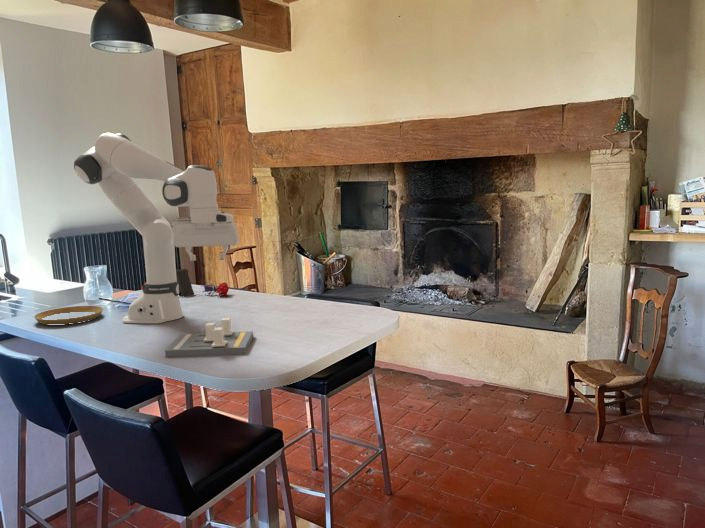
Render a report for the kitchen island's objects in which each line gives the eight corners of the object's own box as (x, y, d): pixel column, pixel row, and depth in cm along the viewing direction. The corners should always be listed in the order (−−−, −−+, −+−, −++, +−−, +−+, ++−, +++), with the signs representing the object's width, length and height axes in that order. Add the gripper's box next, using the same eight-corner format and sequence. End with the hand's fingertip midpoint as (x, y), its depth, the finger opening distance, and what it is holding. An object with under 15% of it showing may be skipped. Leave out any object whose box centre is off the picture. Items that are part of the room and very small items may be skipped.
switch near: (211, 346, 165) (210, 330, 164) (214, 342, 169) (213, 327, 168) (224, 346, 165) (223, 330, 164) (227, 342, 169) (226, 326, 169)
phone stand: (194, 294, 257) (192, 269, 255) (183, 296, 252) (181, 271, 250) (181, 292, 262) (179, 268, 260) (171, 294, 257) (169, 269, 255)
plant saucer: (82, 310, 231) (81, 302, 230) (116, 316, 218) (115, 308, 217) (22, 323, 211) (21, 315, 210) (56, 331, 198) (55, 322, 197)
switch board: (165, 357, 164) (164, 350, 164) (181, 339, 182) (181, 333, 181) (245, 353, 165) (244, 347, 165) (253, 337, 183) (252, 331, 182)
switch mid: (203, 341, 171) (202, 326, 170) (206, 337, 175) (205, 322, 174) (216, 340, 171) (215, 325, 170) (218, 337, 175) (217, 322, 174)
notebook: (95, 300, 252) (95, 296, 251) (127, 293, 266) (127, 289, 265) (133, 306, 237) (132, 301, 237) (164, 298, 251) (164, 294, 251)
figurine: (206, 291, 259) (235, 292, 255) (197, 299, 251) (227, 300, 247) (204, 279, 256) (233, 280, 252) (195, 286, 249) (224, 287, 245)
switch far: (219, 335, 177) (218, 320, 176) (221, 331, 181) (220, 317, 180) (231, 335, 177) (230, 320, 176) (233, 331, 181) (233, 316, 180)
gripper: (168, 218, 168) (172, 262, 170) (234, 216, 168) (237, 260, 170) (174, 217, 174) (178, 259, 176) (238, 215, 174) (241, 257, 176)
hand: (207, 260), depth 173 cm, fingers open, 8 cm apart
